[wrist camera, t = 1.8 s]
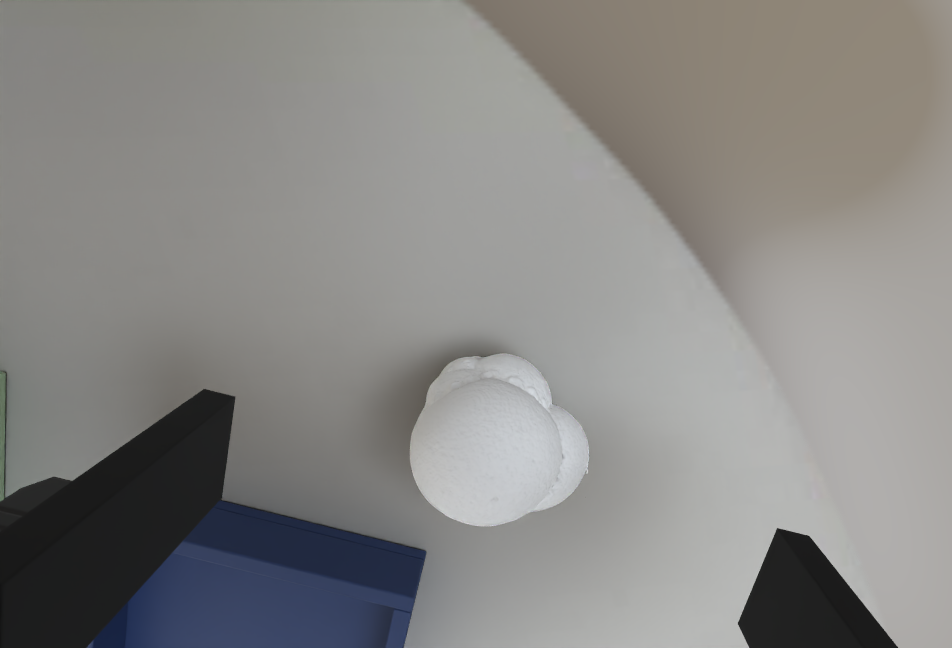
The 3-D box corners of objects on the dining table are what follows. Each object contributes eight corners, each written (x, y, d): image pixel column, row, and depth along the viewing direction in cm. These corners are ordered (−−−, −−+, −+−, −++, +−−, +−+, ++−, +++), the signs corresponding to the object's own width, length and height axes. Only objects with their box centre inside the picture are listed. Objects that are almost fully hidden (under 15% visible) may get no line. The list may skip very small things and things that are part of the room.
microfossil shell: (436, 325, 20) (404, 385, 14) (597, 351, 20) (624, 421, 14) (420, 448, 21) (385, 545, 16) (571, 474, 21) (588, 580, 15)
